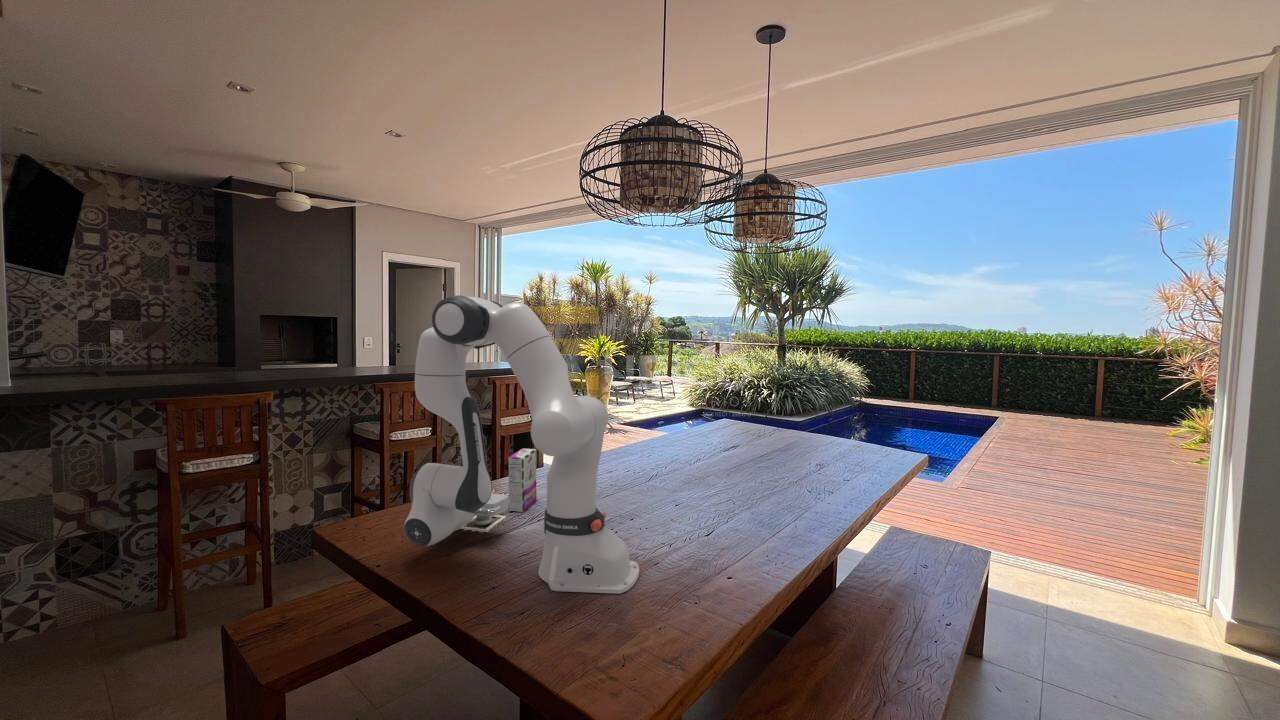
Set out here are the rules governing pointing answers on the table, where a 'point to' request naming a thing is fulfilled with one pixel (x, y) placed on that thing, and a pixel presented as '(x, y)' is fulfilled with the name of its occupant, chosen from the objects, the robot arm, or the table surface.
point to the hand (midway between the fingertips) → (484, 492)
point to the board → (486, 528)
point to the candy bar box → (522, 479)
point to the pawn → (482, 520)
